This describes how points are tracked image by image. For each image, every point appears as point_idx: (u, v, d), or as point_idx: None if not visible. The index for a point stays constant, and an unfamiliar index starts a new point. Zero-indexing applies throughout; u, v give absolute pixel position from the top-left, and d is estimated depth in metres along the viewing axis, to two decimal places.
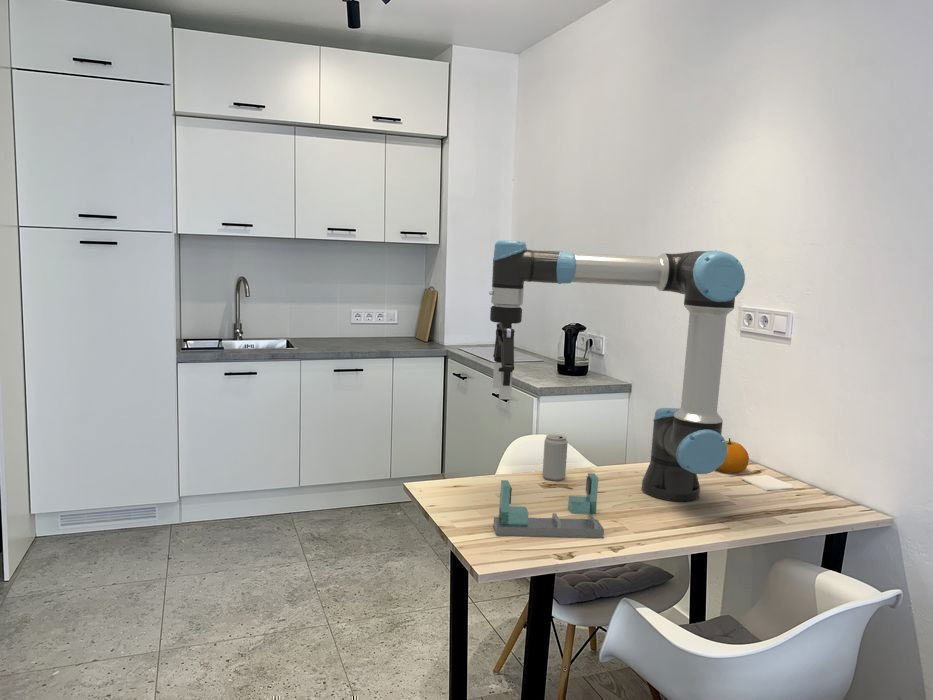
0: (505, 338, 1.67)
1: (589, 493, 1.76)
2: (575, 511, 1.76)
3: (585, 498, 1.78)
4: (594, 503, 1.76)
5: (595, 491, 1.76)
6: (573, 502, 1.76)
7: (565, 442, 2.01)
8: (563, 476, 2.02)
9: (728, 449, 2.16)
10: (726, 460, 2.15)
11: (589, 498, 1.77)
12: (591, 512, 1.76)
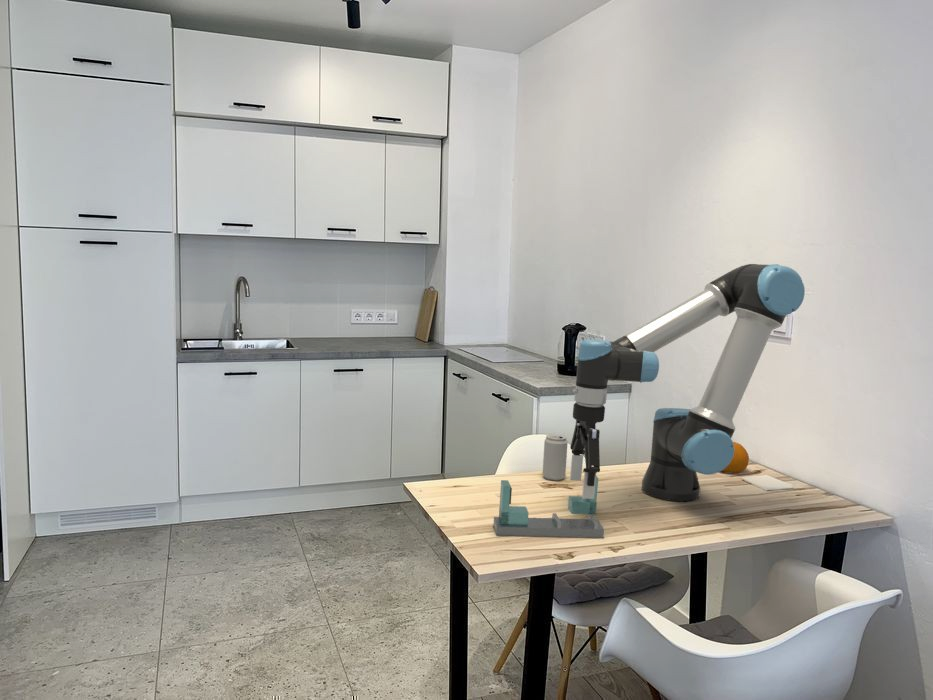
0: (590, 439, 1.69)
1: None
2: (575, 511, 1.76)
3: None
4: (594, 503, 1.76)
5: (595, 491, 1.76)
6: (573, 502, 1.76)
7: (565, 442, 2.01)
8: (563, 476, 2.02)
9: None
10: None
11: None
12: (591, 512, 1.76)
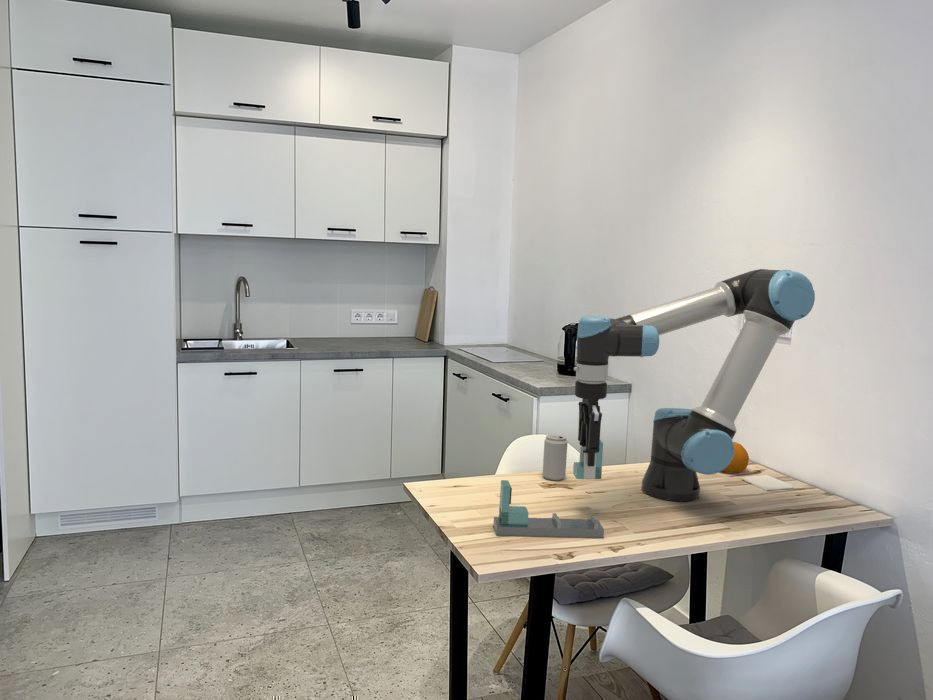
0: (592, 422, 1.69)
1: None
2: (580, 476, 1.75)
3: None
4: (599, 468, 1.75)
5: (600, 456, 1.75)
6: (578, 467, 1.75)
7: (565, 442, 2.01)
8: (563, 476, 2.02)
9: None
10: None
11: None
12: (596, 477, 1.75)
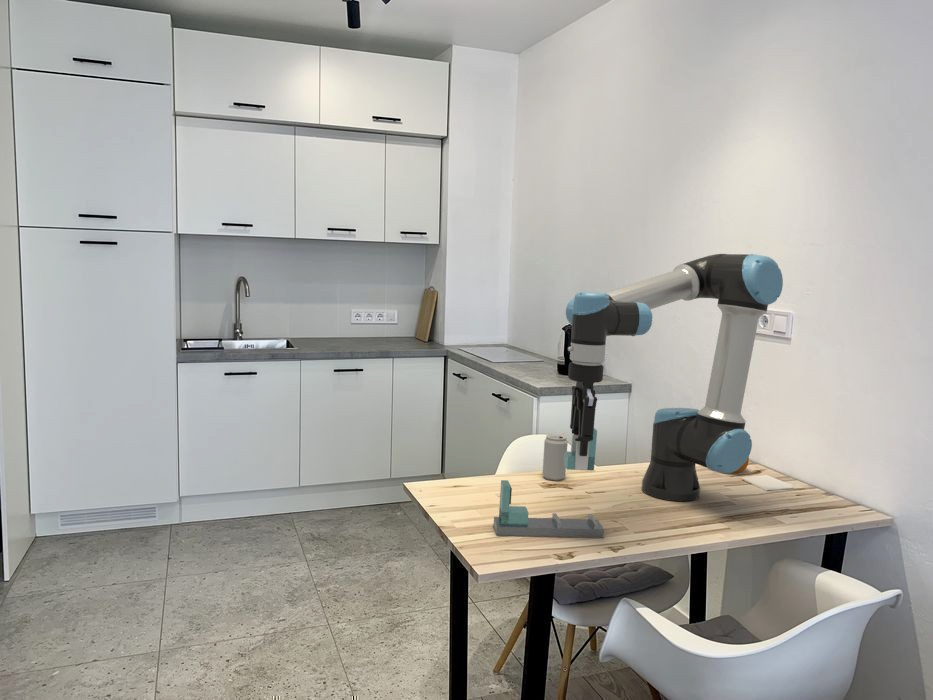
0: (586, 407, 1.54)
1: None
2: (571, 467, 1.60)
3: None
4: (592, 458, 1.60)
5: (593, 445, 1.59)
6: (569, 457, 1.59)
7: (565, 442, 2.01)
8: (563, 476, 2.02)
9: None
10: None
11: None
12: (589, 468, 1.60)
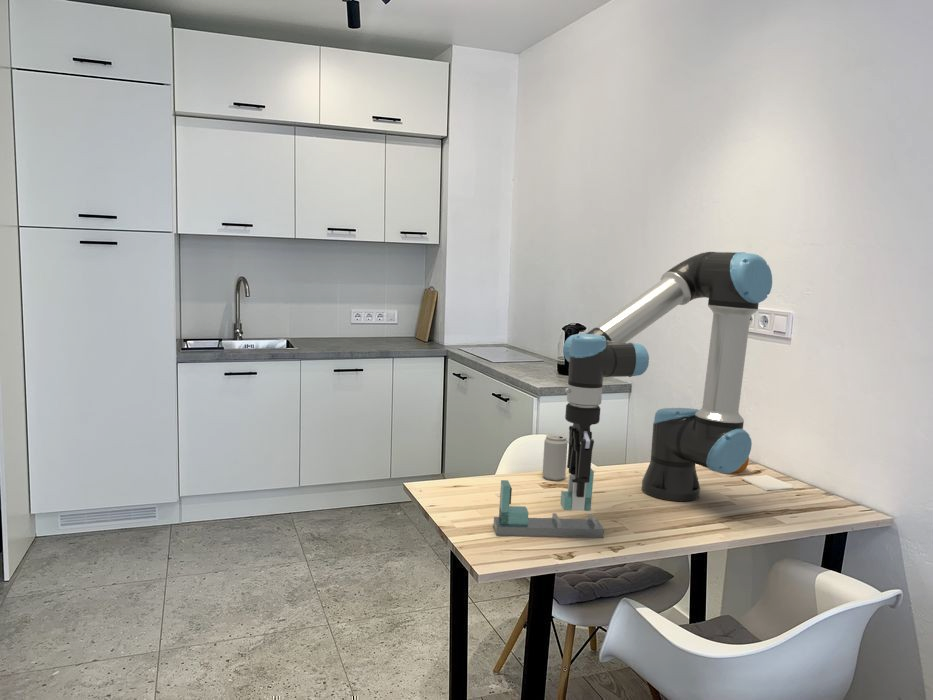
0: (583, 450, 1.55)
1: None
2: (568, 507, 1.61)
3: None
4: (589, 499, 1.61)
5: (590, 486, 1.61)
6: (566, 497, 1.61)
7: (565, 442, 2.01)
8: (563, 476, 2.02)
9: None
10: None
11: None
12: (586, 509, 1.61)
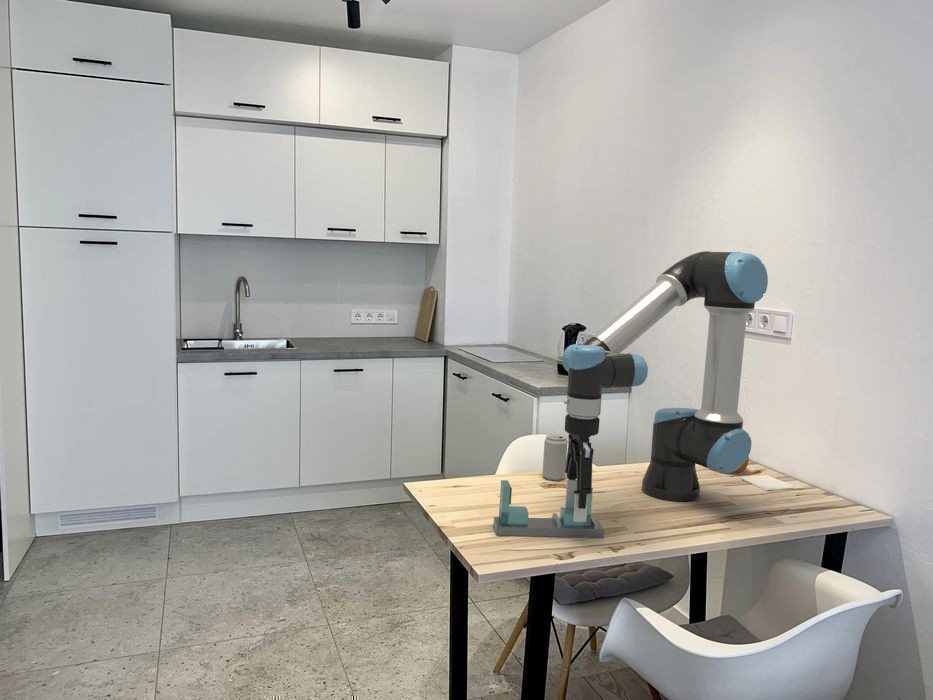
0: (583, 459, 1.55)
1: None
2: (567, 524, 1.62)
3: None
4: (588, 515, 1.62)
5: (589, 502, 1.61)
6: (565, 514, 1.61)
7: (565, 442, 2.01)
8: (563, 476, 2.02)
9: None
10: None
11: None
12: (585, 525, 1.62)
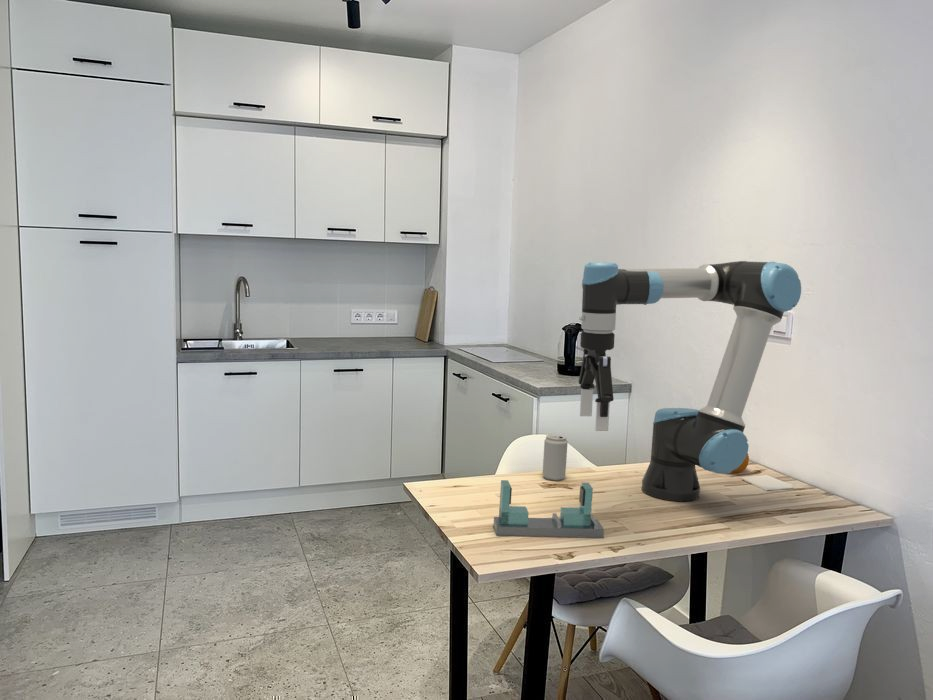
0: (601, 367, 1.57)
1: (583, 504, 1.62)
2: (567, 524, 1.62)
3: (578, 510, 1.64)
4: (588, 515, 1.62)
5: (589, 502, 1.61)
6: (565, 514, 1.61)
7: (565, 442, 2.01)
8: (563, 476, 2.02)
9: None
10: None
11: (583, 510, 1.62)
12: (585, 525, 1.62)
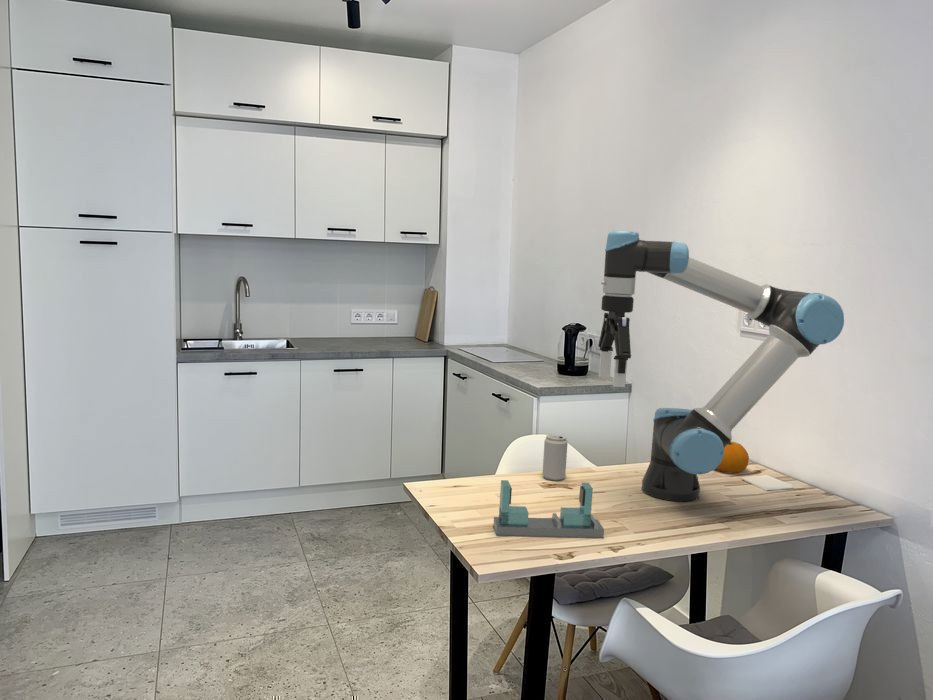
0: (621, 327, 1.70)
1: (583, 504, 1.62)
2: (567, 524, 1.62)
3: (578, 510, 1.64)
4: (588, 515, 1.62)
5: (589, 502, 1.61)
6: (565, 514, 1.61)
7: (565, 442, 2.01)
8: (563, 476, 2.02)
9: (728, 449, 2.16)
10: (726, 460, 2.15)
11: (583, 510, 1.62)
12: (585, 525, 1.62)
